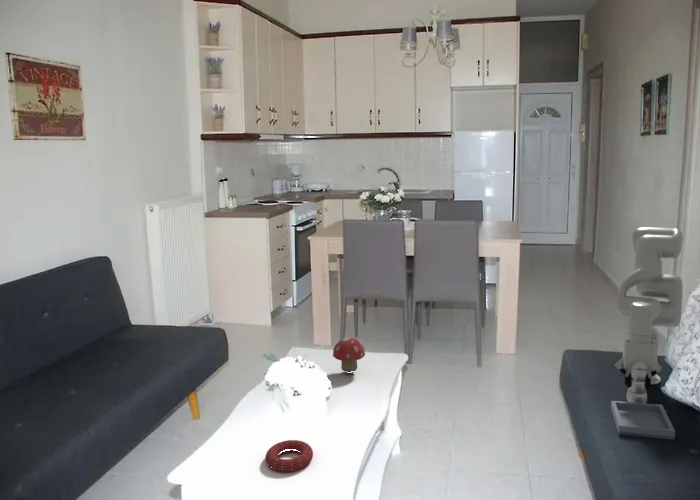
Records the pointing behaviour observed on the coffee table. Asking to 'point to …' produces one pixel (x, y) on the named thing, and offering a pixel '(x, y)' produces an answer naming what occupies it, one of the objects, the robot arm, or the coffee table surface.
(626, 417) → the tray
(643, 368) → the plastic bottle
